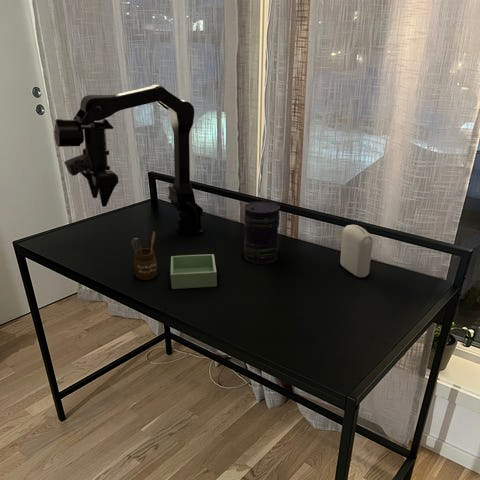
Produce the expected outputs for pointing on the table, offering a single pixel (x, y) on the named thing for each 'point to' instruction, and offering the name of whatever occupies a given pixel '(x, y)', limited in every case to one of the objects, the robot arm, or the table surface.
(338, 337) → the table surface
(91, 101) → the robot arm
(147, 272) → the utensil holder
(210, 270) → the tray
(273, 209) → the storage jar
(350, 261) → the photo printer
